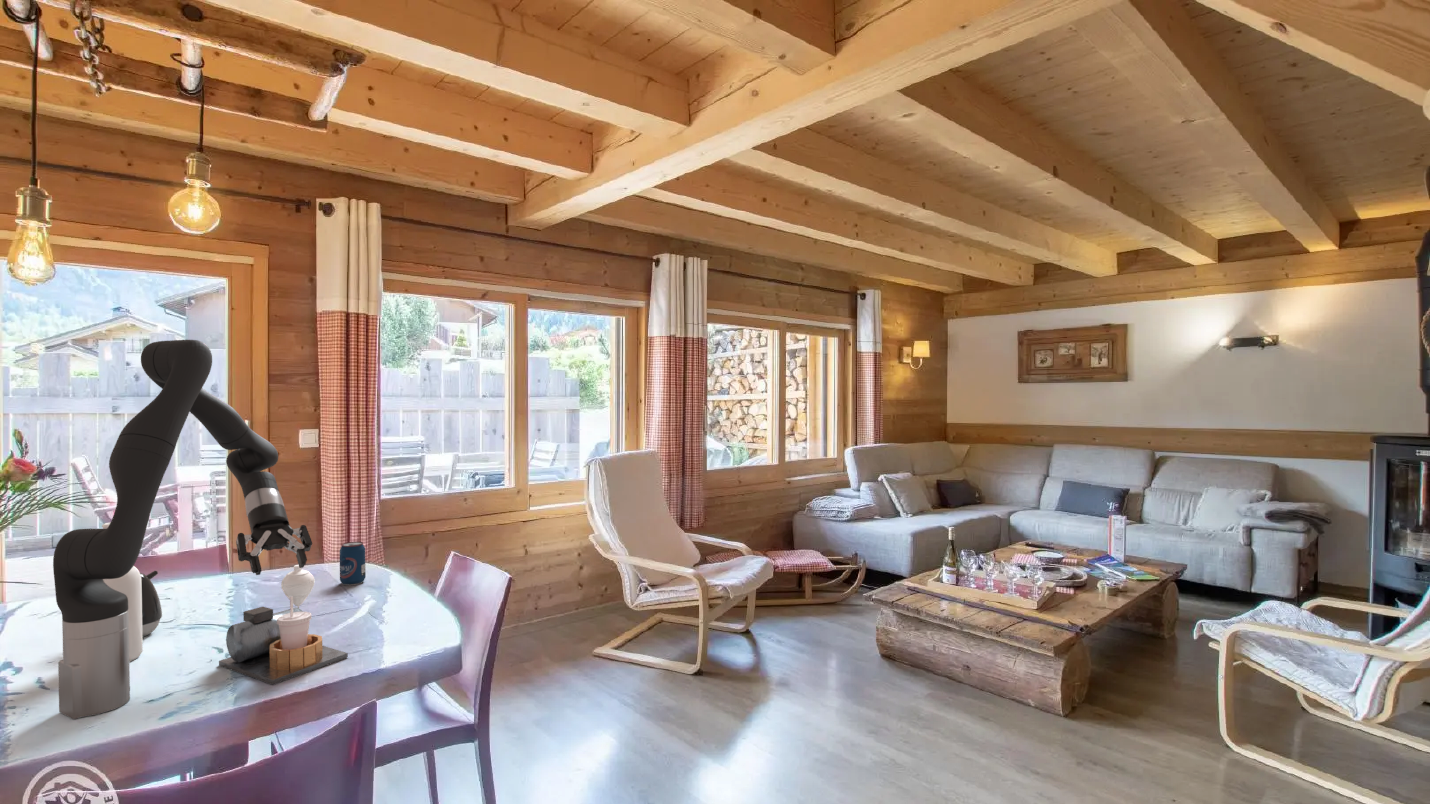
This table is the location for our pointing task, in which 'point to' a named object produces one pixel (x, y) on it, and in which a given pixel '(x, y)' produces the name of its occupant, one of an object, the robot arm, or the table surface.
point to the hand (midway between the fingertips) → (281, 569)
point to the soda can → (352, 563)
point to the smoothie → (294, 628)
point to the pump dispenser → (150, 604)
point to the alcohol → (131, 606)
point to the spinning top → (298, 585)
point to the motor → (272, 649)
